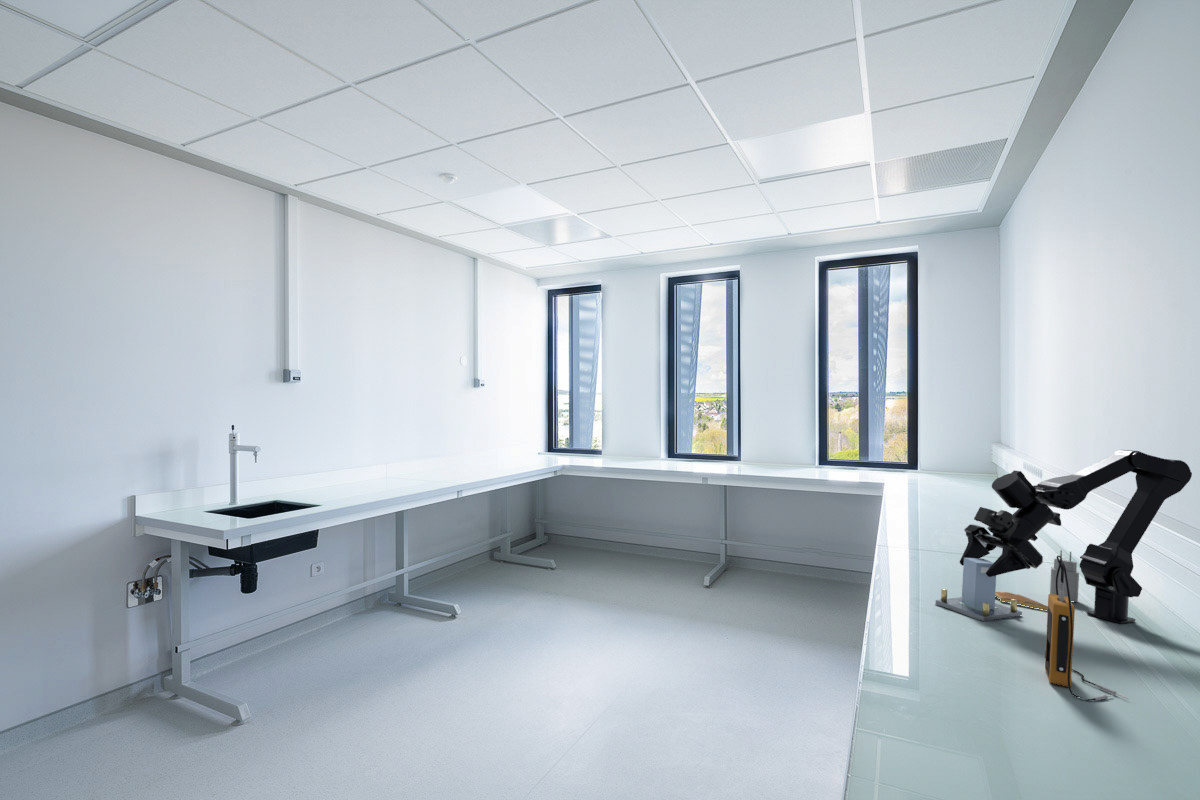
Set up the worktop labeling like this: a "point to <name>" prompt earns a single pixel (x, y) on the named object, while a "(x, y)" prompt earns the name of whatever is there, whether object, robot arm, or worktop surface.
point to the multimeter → (1062, 637)
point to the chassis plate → (978, 613)
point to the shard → (1020, 600)
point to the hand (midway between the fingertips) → (973, 569)
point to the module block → (978, 583)
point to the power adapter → (1071, 576)
